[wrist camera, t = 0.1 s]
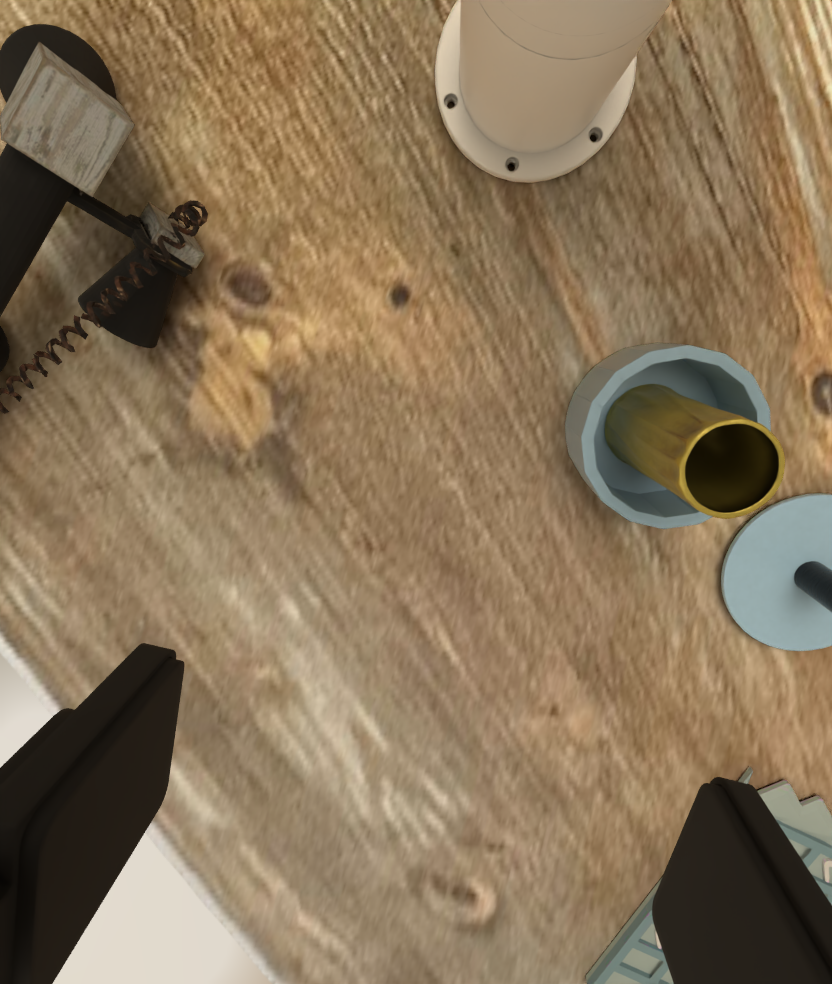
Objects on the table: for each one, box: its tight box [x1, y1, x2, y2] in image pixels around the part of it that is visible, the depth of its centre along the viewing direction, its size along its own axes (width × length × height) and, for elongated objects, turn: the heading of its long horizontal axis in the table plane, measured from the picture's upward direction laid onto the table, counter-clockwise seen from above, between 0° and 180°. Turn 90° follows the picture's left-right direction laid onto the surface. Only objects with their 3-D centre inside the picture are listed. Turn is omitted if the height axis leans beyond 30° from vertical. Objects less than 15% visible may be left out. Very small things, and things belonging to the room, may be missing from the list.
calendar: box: [586, 767, 832, 984], centre depth 55 cm, size 27×29×2 cm
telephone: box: [0, 24, 208, 413], centre depth 41 cm, size 15×13×30 cm
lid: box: [721, 493, 832, 651], centre depth 44 cm, size 13×13×6 cm
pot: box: [565, 343, 771, 529], centre depth 42 cm, size 12×12×6 cm
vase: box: [605, 384, 785, 519], centre depth 38 cm, size 6×6×14 cm
